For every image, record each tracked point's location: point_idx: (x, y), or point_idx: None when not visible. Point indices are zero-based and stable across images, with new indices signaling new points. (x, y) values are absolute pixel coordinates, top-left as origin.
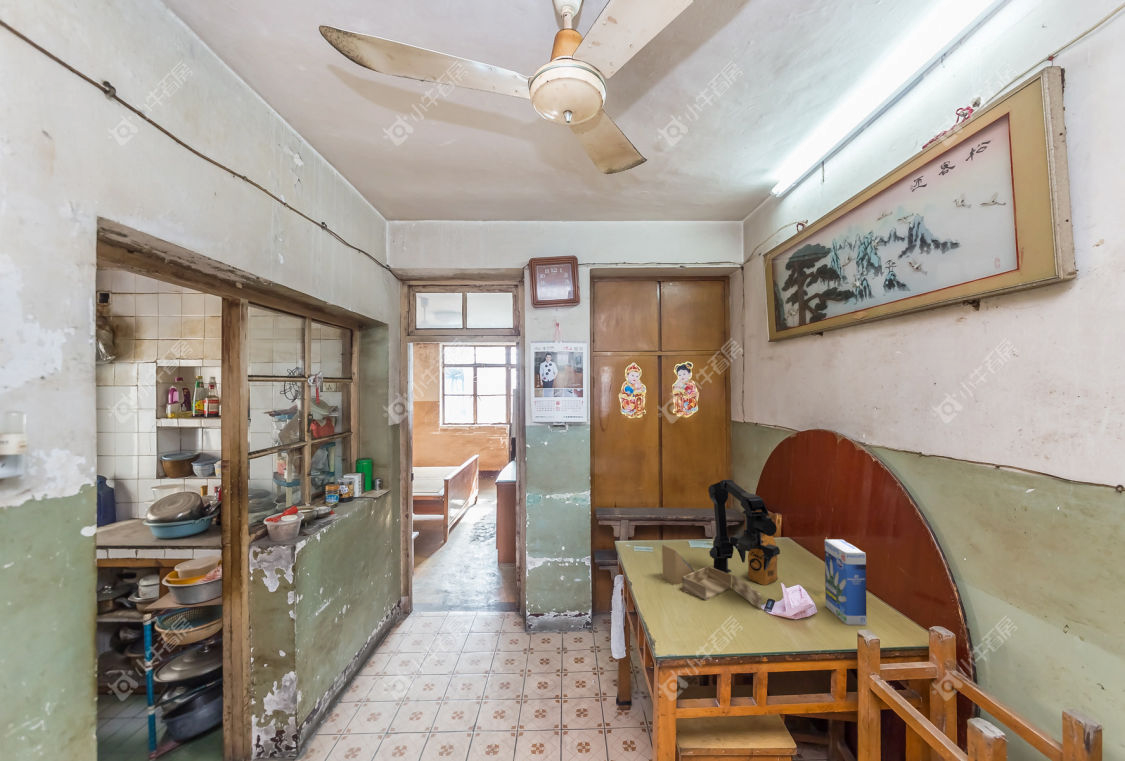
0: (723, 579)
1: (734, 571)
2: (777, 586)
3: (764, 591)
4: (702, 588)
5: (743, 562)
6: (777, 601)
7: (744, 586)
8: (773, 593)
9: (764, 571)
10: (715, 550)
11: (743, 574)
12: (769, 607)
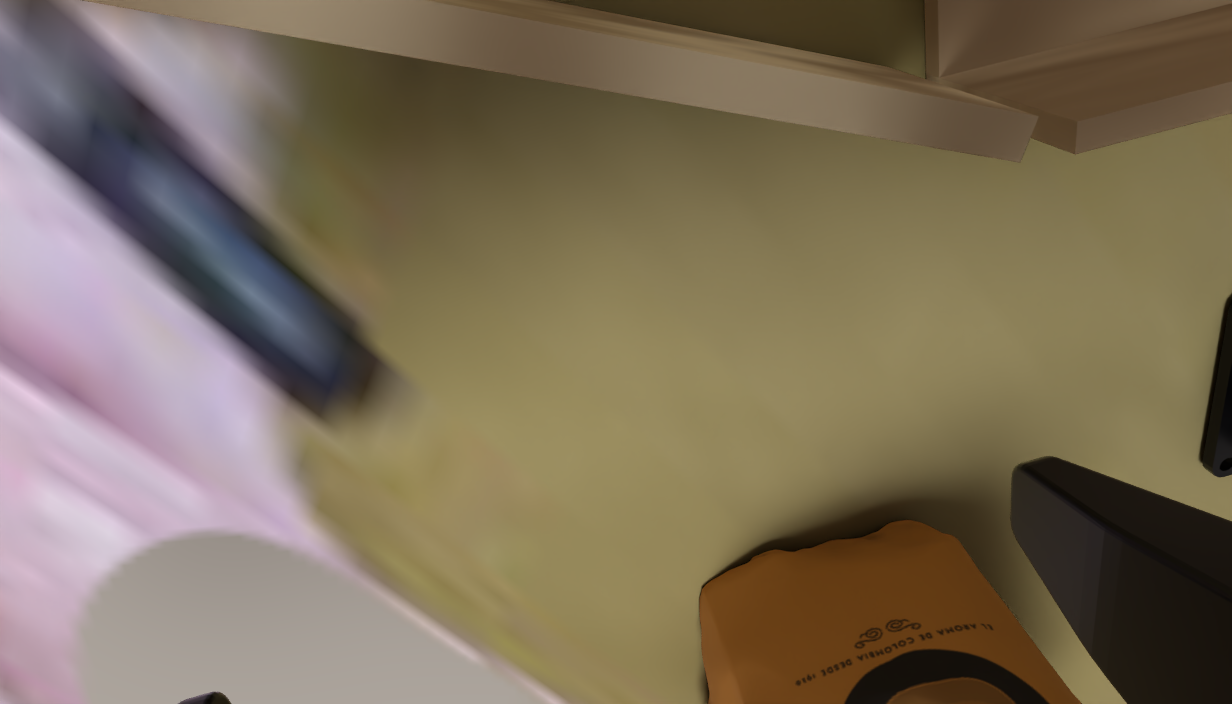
0: (1130, 53)
1: None
2: (615, 686)
3: (587, 471)
4: None
5: (1018, 477)
6: (269, 429)
7: (559, 18)
8: (491, 535)
9: None
10: None
11: None
12: (114, 167)
